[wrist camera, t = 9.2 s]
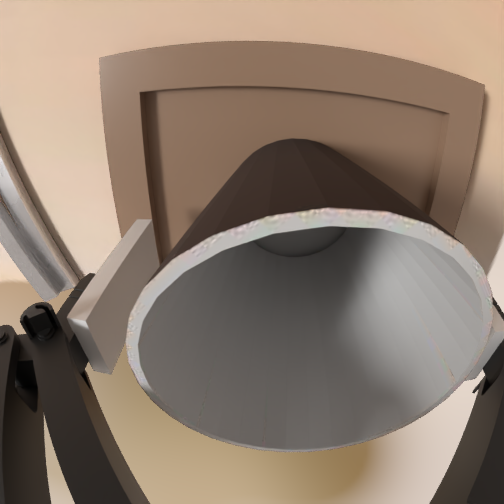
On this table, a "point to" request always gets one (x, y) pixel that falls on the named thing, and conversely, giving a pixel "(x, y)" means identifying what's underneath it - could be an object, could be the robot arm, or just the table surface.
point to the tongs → (30, 236)
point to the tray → (279, 123)
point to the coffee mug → (308, 308)
